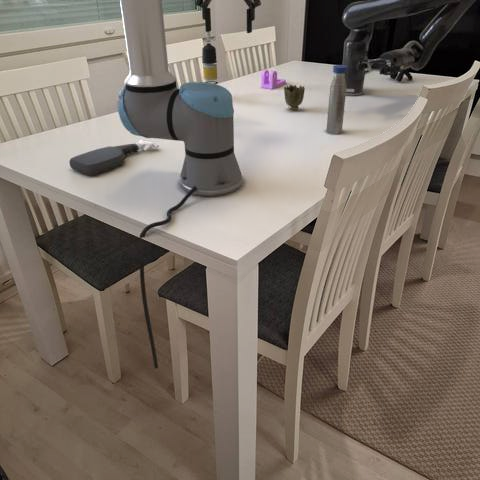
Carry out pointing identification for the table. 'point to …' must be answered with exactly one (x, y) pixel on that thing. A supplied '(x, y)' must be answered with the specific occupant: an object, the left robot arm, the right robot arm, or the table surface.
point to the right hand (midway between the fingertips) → (369, 69)
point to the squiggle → (401, 74)
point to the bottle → (336, 104)
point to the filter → (209, 61)
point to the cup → (294, 96)
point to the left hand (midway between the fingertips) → (228, 32)
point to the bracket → (271, 80)
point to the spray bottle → (106, 157)
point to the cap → (340, 69)
